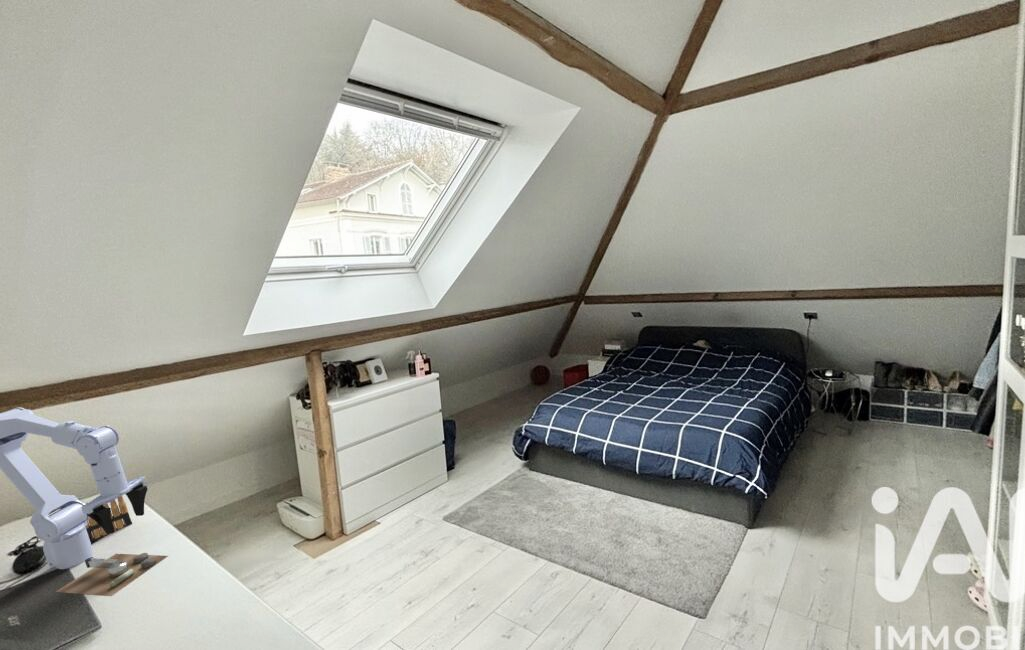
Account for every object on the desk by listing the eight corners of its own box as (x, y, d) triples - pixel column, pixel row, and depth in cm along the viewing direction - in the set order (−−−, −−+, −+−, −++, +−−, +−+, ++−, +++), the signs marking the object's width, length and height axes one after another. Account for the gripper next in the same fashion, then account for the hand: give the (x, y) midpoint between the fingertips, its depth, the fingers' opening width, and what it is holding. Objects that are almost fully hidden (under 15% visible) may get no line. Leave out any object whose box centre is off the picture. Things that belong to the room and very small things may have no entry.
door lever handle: (82, 576, 119) (78, 563, 118) (98, 566, 122) (94, 554, 122) (117, 578, 116) (113, 565, 115) (132, 568, 119) (128, 555, 119)
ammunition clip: (87, 547, 136) (74, 508, 134) (86, 544, 137) (73, 506, 135) (133, 527, 144) (122, 490, 142) (132, 525, 145) (121, 488, 143)
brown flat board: (56, 596, 115) (53, 586, 114) (117, 557, 128) (114, 548, 127) (112, 600, 110) (109, 590, 109) (169, 560, 123) (166, 550, 123)
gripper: (89, 489, 114) (107, 541, 116) (148, 460, 128) (163, 507, 130) (68, 490, 116) (87, 541, 118) (128, 462, 130) (144, 508, 132)
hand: (125, 523), depth 124 cm, fingers open, 7 cm apart
